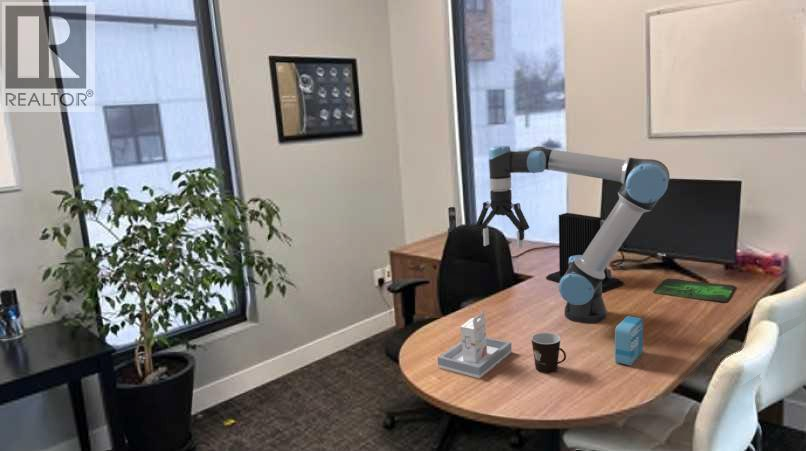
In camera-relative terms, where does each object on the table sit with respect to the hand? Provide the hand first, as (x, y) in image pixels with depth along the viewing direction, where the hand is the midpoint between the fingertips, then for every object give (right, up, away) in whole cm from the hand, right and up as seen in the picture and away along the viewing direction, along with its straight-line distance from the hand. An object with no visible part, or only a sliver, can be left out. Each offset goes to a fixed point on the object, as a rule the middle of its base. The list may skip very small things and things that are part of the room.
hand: (502, 246), depth 209 cm
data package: (+34, -34, -31) cm, 57 cm away
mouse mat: (+82, -19, +24) cm, 88 cm away
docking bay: (-13, -36, -24) cm, 45 cm away
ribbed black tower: (+44, -17, +44) cm, 65 cm away
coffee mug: (+8, -37, -35) cm, 51 cm away
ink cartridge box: (-13, -35, -25) cm, 45 cm away
